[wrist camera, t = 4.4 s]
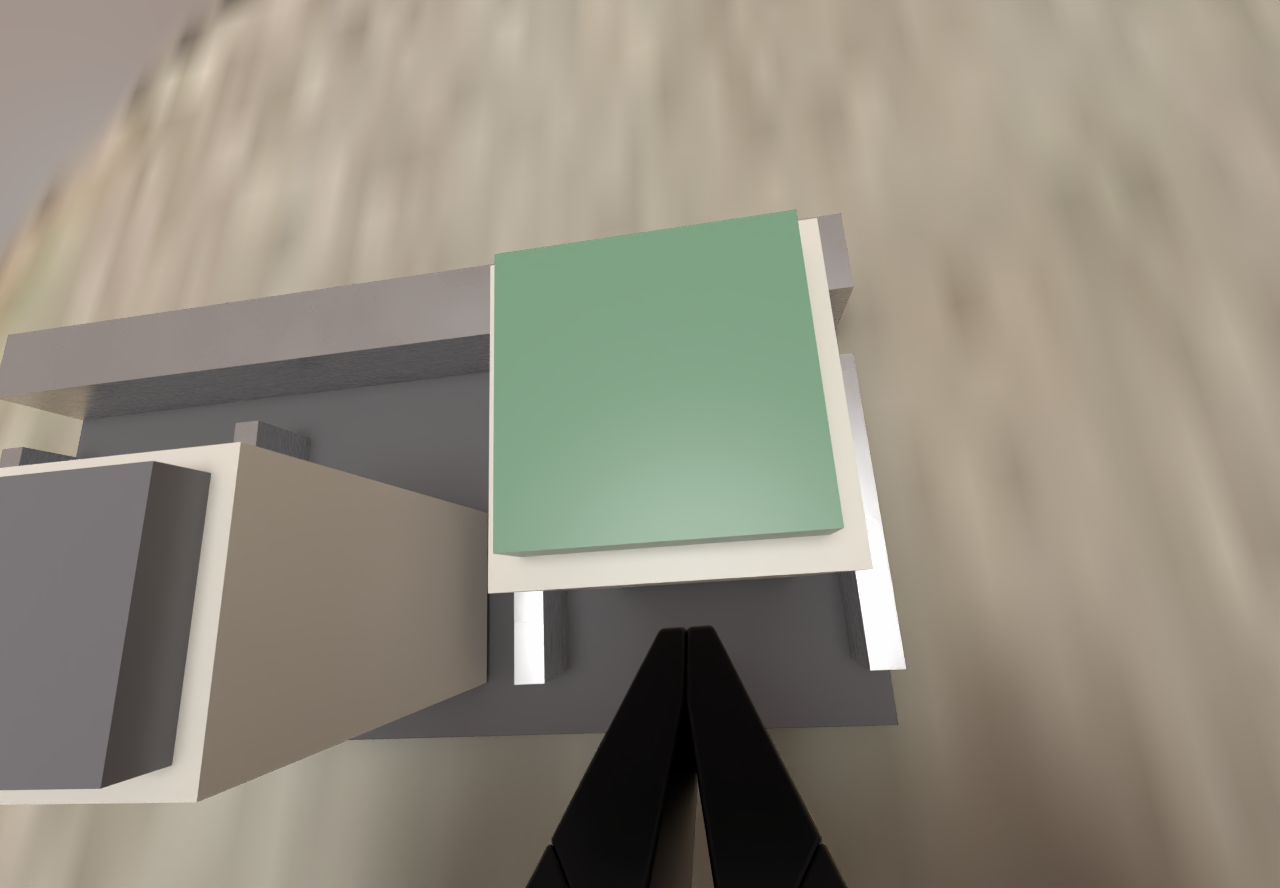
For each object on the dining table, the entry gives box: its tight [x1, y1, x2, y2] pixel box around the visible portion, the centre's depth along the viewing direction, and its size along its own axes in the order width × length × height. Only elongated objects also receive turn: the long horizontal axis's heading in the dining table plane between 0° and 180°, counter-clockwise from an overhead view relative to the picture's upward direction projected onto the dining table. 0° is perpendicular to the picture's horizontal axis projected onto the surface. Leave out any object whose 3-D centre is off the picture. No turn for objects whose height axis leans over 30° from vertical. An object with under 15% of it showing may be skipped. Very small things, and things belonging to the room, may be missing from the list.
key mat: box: [76, 372, 898, 740], centre depth 16 cm, size 12×24×1 cm, turn 94°
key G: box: [488, 210, 873, 593], centre depth 10 cm, size 4×4×9 cm
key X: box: [0, 442, 488, 805], centre depth 11 cm, size 4×4×9 cm
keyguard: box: [0, 214, 906, 685], centre depth 15 cm, size 10×24×2 cm, turn 93°
